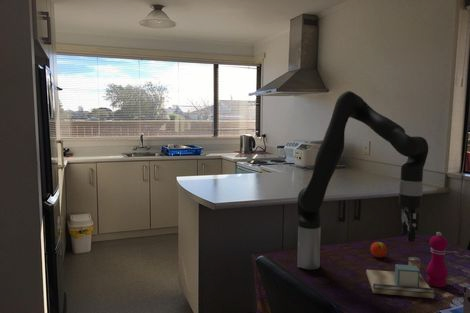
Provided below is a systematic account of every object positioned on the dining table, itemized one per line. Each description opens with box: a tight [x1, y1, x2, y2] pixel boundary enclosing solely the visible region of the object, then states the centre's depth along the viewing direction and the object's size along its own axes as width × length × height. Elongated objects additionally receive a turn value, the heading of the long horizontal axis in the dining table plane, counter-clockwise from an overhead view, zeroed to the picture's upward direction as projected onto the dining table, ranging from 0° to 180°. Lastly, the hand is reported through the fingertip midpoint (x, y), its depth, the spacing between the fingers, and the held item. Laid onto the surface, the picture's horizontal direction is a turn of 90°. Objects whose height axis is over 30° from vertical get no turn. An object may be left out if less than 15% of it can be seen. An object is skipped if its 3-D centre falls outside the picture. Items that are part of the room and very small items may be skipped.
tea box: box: [394, 264, 421, 287], centre depth 137 cm, size 5×7×7 cm
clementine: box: [370, 241, 388, 258], centre depth 171 cm, size 8×7×7 cm
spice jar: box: [407, 256, 421, 271], centre depth 146 cm, size 4×4×7 cm
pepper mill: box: [426, 231, 449, 288], centre depth 142 cm, size 7×7×20 cm
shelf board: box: [366, 269, 436, 299], centre depth 142 cm, size 20×18×3 cm
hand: (408, 237), depth 135 cm, fingers open, 8 cm apart
